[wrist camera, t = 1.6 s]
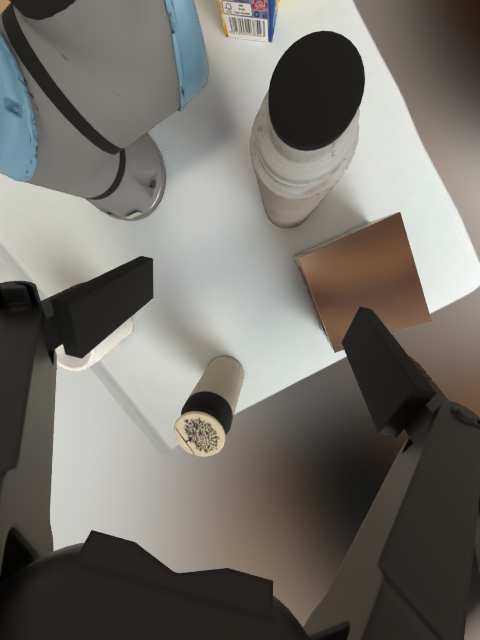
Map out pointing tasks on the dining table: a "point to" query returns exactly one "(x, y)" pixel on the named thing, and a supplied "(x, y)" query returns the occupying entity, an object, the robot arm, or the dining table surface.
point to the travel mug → (210, 408)
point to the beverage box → (249, 18)
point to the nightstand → (364, 279)
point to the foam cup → (97, 352)
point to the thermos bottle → (307, 125)
